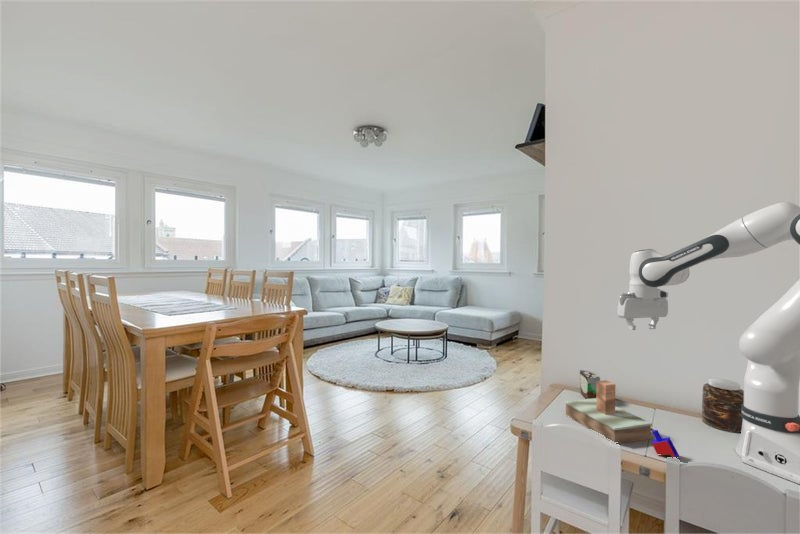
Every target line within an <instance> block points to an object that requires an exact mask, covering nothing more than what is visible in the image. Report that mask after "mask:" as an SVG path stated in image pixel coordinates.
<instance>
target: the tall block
mask: <svg viewBox="0 0 800 534" xmlns="http://www.w3.org/2000/svg"><path fill="white" fill-rule="evenodd" d="M615 406H616V384H615V383H613V382H611V381H609V380H600V381H597V388H596V410H597V411H599V412H601V413H603V414H605V415H606V414H615Z"/></svg>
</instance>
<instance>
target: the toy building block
mask: <svg viewBox="0 0 800 534" xmlns="http://www.w3.org/2000/svg"><path fill="white" fill-rule="evenodd" d="M651 433H652V434H653V436H654V439H653V440H652V442H651V445H652V447H653V449H654V451H655V453H656V455H657V454H661V455H660V456H667V455H670V456H671V458H672V457H676V458H677V457H678V458H679V457H680V454H679V453H678V450H677V449H676V447H675V445H674V443H673V441H672V440H671V437H670V436H668V437H662V436H661V434H660V432H659V430H658V429H654V430H651Z"/></svg>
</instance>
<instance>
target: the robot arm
mask: <svg viewBox="0 0 800 534" xmlns="http://www.w3.org/2000/svg"><path fill="white" fill-rule="evenodd" d="M791 240H794V241H795V242H796V244H797V245H799V246H800V206H799V205H797V204H796V203H792V202H789V201H782V202H781V201H780V202H777V203H774V204H771V205H767V206H765V207H763V208H760V209H758V210H756V211H753V212H751V213H748V214H747V215H744V216H741V217H740V218H738V219H736V220H734V221H733V222H730V223H729V224H727V225H726V226H724V227H722V228H720V229H718V230H716V231H715V232H713V233H712V234H709V235H707V236H706V237H704V238H702V239H700V240H698V241H696V242H693V243H691V244H690V245H687V246H685V247H682V248H681V249H678V250H677V251H673V252H671V253H670V254H666V255H665V254H662V253H660V252H658V251H657V250H656V249H652V248H649V249H640V250H636V251H634V252H633V253H632V254H631V256H630V260H629V268H628V269H629V272H628V273H629V276H630V277H629V278H630V280H629V283H628V292H625V293H622V294H621V295H620V296H619V300H618V302H617V309H616V310H617V312H616V313H617V314H616V315H617V317H618V318H621V319H625V322H626V323H627V325H628V330H629V331H636V330H637V329H636V327H637V326H636V325H635V324H634V321H635V320H634V319H642V318H643V319H645V318H649V319H651V322H650V323H648V329H649V330H656V329H657V324H658V323H659V318H666V317H667V315H668V314H669V302H668V299H667V298H668V297H669V292H668V291H665V290H664V289H663V290H662V289H661V288H659V287H665V286H667V287H668V286H677V285H680V284H683V283H685V282H686V281H687V280H688V279H689V276H690V268H692V267H694V266H697V265H699V264H701V263H704V262H707V261H711V260H717V259H724V258H725V259H726V258H728V259H729V258H739V257H744V256H748V255H751V254H755V253H758V252H761V251H764V250H765V249H768V248H771V247H773V246H775V245H778V244H780V243H783V242H785V241H791ZM738 347H739V350H740V353H741V354H742V355H743V356H744V357H745V358H746V359H747V364H746V369H745V373H744V377H743V391H744V403H743V404H742V407H741V418H742V429H741V433H740V435H739V437H738V442H737V444H736V447H735V449H734V450H735V453H736V454H737V455H738V456H739V457H740V461H741V462H742V463H745V464H747V465H749V466H752V467H754V468H757V469H759V470H762V471H764V472H767V473H770V474H771V475H773V476H774V475H775V476H778V477H780V478H783V479H785V480H788V481H790V482H792V483H795V484H798V485H800V415H799V390H800V278H799V279H798V280H797V281H796V282H795V283H794V284H793V285H792V286H791V287H789V289H788V290H787V291H786V292H785V293H784V294H783V295H782V296H781V297H780V298H779V299H778V300H776V301H775V303H773V304H772V305H771V306H770V307H769V308H768V309H767V310H766V311H765V312H763V313H762V314H761V315H760V316H759V317H758V318H757V319H756V320H755V321H754V322H752V324H750V325H749V326H748V328H746V329H745V330H744V331H743V332H742V333H741V334H740V337H739V341H738Z"/></svg>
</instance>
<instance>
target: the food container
mask: <svg viewBox="0 0 800 534" xmlns="http://www.w3.org/2000/svg"><path fill="white" fill-rule="evenodd" d="M597 381H601V377H600V375H599V374H598V373H596V372H593V371H590V370H584V369H580V370H579V385H580V386H579V390H580V391H579V393H580V395H581V397H582V396H583V397H584V398H585V399H593V398H596V388H597ZM583 397H582V398H583ZM584 398H583V399H584Z"/></svg>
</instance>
